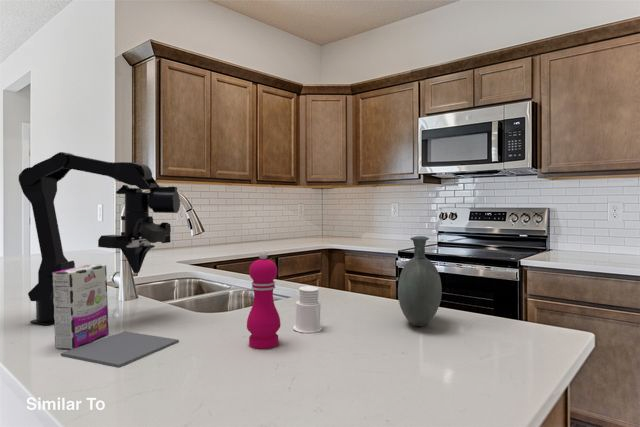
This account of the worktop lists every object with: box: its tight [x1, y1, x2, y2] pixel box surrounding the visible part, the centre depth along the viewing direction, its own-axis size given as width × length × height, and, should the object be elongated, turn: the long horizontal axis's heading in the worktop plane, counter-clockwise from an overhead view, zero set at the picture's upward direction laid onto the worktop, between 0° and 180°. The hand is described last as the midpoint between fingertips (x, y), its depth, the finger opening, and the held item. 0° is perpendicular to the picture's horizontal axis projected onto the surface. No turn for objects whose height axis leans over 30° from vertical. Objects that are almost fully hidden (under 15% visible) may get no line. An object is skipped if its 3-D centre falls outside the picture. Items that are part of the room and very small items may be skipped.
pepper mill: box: [246, 251, 281, 350], centre depth 95 cm, size 7×7×20 cm
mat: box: [60, 330, 180, 368], centre depth 92 cm, size 16×16×1 cm
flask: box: [397, 235, 443, 327], centre depth 109 cm, size 12×17×22 cm
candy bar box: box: [52, 263, 110, 350], centre depth 97 cm, size 11×5×16 cm, turn 168°
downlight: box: [292, 285, 323, 334], centre depth 106 cm, size 8×7×10 cm
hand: (136, 272), depth 113 cm, fingers closed
